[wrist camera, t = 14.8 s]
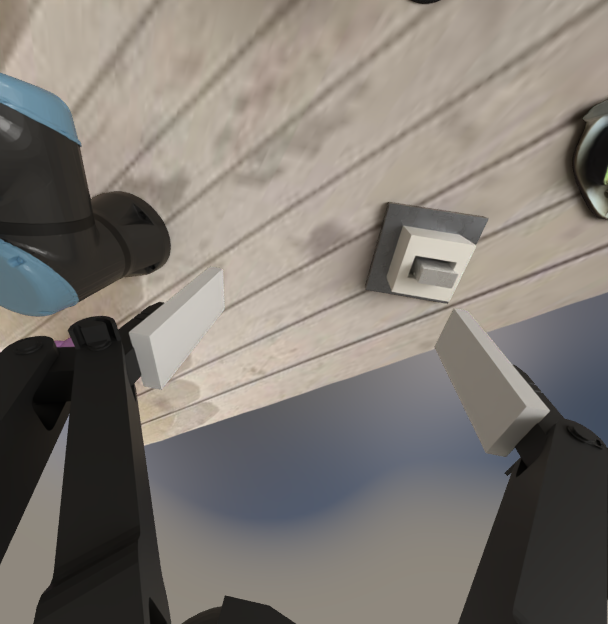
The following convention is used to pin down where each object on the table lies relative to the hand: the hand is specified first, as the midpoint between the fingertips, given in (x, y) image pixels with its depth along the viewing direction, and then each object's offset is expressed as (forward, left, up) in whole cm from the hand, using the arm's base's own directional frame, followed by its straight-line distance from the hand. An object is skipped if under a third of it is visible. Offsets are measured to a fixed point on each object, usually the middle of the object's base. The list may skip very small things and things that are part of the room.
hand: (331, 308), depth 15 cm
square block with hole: (+15, -5, -31) cm, 35 cm away
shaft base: (+15, -5, -33) cm, 36 cm away
